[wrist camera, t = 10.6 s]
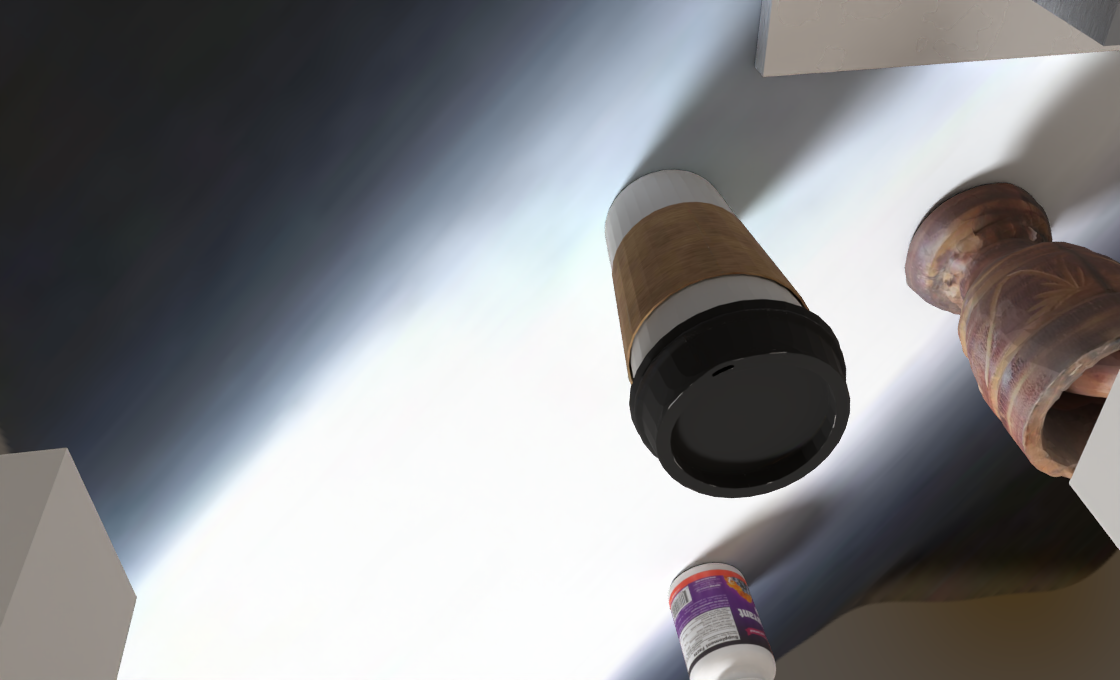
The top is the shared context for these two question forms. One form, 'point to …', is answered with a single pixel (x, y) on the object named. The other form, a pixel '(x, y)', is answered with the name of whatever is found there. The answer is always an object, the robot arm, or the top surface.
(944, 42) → the gauge base
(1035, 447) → the mortar and pestle
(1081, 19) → the grey rectangular block
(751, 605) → the pill bottle
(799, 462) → the coffee cup
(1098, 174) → the top surface
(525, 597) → the top surface
